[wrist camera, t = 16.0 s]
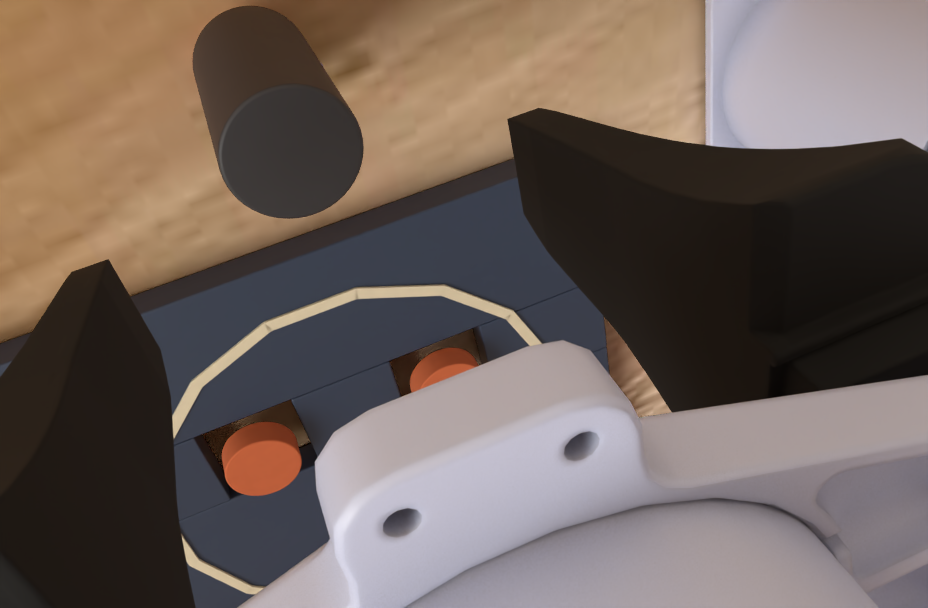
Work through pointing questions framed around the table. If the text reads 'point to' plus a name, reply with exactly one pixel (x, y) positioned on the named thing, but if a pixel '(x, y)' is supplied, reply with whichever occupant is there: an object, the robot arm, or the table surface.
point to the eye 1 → (261, 458)
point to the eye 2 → (441, 367)
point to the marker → (274, 115)
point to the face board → (337, 349)
